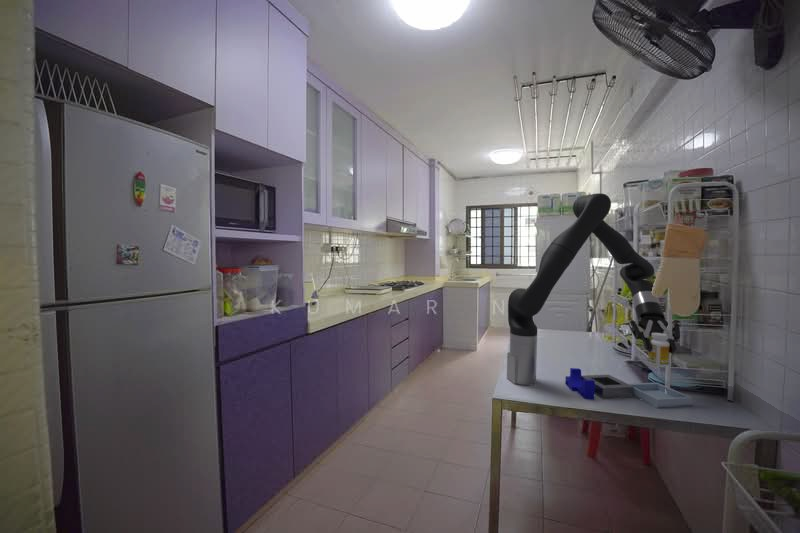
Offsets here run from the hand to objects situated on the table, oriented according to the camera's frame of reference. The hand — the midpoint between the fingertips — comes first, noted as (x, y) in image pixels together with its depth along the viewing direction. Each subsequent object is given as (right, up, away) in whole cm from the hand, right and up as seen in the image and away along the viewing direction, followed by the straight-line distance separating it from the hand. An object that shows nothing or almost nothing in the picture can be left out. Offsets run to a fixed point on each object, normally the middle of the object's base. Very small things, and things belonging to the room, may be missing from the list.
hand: (661, 350), depth 106 cm
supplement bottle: (+1, -5, +2) cm, 5 cm away
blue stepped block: (-22, -16, +7) cm, 28 cm away
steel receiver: (-13, -15, +7) cm, 22 cm away
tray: (0, -16, +2) cm, 16 cm away
